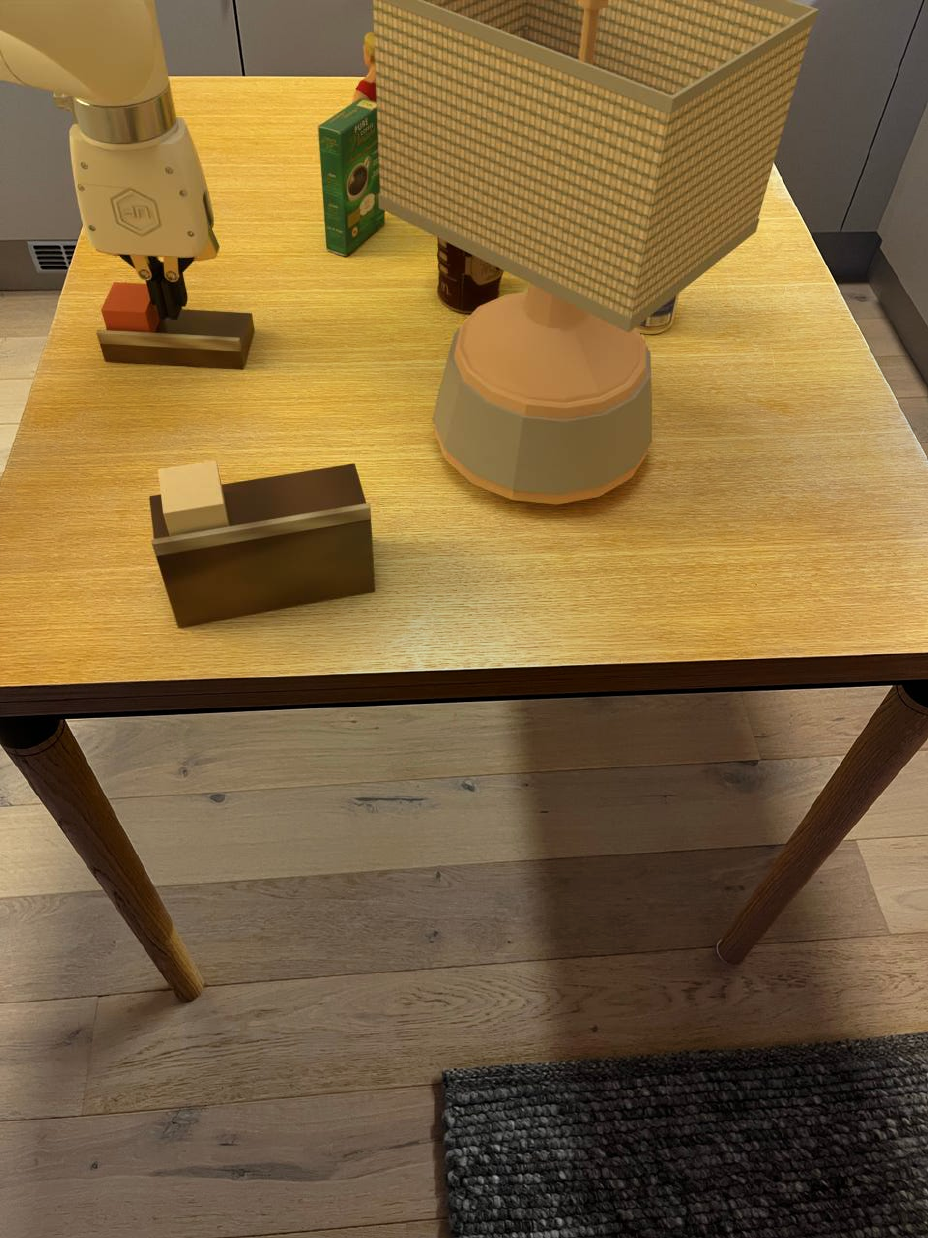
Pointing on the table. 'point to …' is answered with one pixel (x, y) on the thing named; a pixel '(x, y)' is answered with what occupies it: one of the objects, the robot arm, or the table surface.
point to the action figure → (368, 84)
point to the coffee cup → (465, 279)
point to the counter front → (270, 547)
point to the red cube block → (130, 309)
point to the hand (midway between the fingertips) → (171, 310)
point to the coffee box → (350, 176)
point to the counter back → (185, 341)
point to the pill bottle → (659, 318)
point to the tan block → (192, 498)
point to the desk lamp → (575, 201)
